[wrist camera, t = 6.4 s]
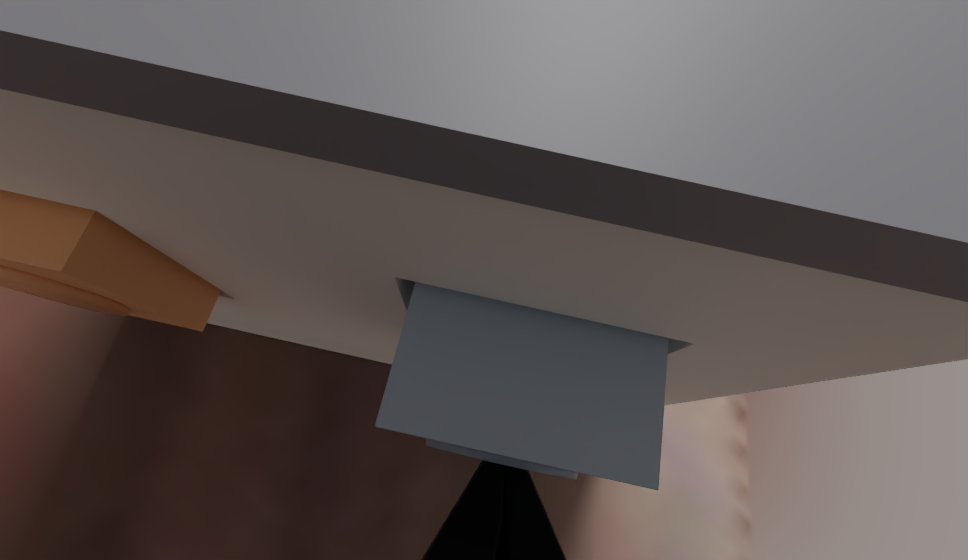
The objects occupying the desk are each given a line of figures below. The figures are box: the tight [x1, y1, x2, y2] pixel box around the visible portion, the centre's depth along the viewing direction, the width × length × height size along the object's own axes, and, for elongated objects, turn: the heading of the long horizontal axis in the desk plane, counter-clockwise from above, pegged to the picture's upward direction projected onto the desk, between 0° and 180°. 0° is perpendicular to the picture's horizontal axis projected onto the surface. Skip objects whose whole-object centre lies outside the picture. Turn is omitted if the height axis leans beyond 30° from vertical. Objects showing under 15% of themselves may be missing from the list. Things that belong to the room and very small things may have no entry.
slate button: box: [375, 282, 669, 490], centre depth 9 cm, size 4×4×4 cm
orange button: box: [0, 189, 221, 332], centre depth 10 cm, size 4×4×4 cm
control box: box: [0, 0, 968, 405], centre depth 12 cm, size 8×20×16 cm, turn 78°
